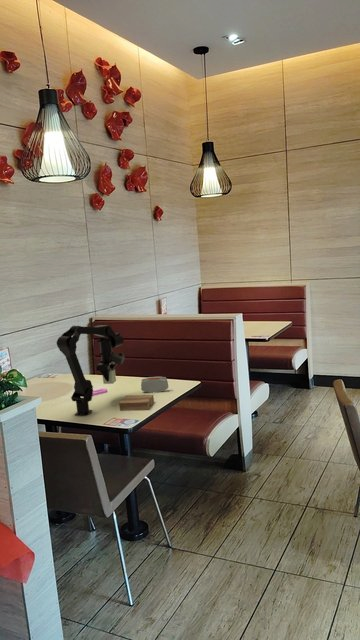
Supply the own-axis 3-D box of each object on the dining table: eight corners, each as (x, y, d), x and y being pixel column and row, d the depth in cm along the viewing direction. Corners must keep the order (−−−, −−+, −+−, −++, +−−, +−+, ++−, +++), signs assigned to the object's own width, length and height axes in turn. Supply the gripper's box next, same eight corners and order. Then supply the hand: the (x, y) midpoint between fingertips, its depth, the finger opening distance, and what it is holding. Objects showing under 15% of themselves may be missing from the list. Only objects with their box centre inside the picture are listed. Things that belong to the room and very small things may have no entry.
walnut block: (148, 410, 244) (147, 402, 243) (120, 411, 246) (119, 403, 246) (154, 402, 255) (153, 394, 255) (127, 403, 258) (126, 395, 257)
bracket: (86, 397, 273) (85, 385, 272) (82, 395, 277) (81, 383, 276) (109, 392, 279) (107, 380, 278) (104, 390, 284) (103, 378, 283)
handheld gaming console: (168, 390, 273) (167, 375, 272) (168, 391, 270) (167, 377, 269) (141, 392, 274) (140, 377, 273) (141, 393, 271) (139, 379, 270)
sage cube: (112, 383, 257) (111, 372, 257) (103, 383, 259) (102, 372, 258) (116, 380, 262) (114, 369, 261) (106, 381, 263) (105, 369, 262)
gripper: (115, 353, 247) (118, 384, 249) (127, 345, 265) (130, 374, 267) (93, 354, 250) (97, 385, 252) (106, 346, 268) (110, 375, 270)
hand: (109, 379), depth 260 cm, fingers closed on sage cube, 5 cm apart
